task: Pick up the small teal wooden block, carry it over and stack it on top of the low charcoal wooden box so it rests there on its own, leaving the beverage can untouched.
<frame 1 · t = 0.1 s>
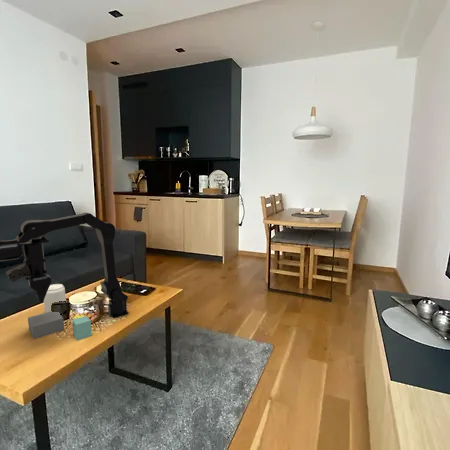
hand: (39, 298, 106), 15 cm above the table, tool pointing down, fingers open, 9 cm apart
charcoal box: (46, 330, 114), on the table
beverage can: (56, 314, 127), on the table
teal block: (82, 335, 109), on the table
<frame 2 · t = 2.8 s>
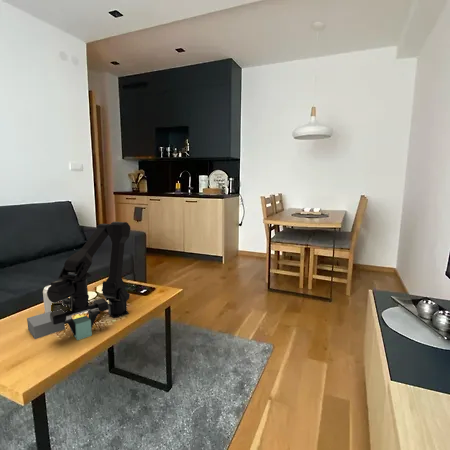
hand: (82, 332, 109), 1 cm above the table, tool pointing down, fingers closed on teal block, 5 cm apart
teal block: (82, 335, 109), on the table, touching gripper
everything else where it was.
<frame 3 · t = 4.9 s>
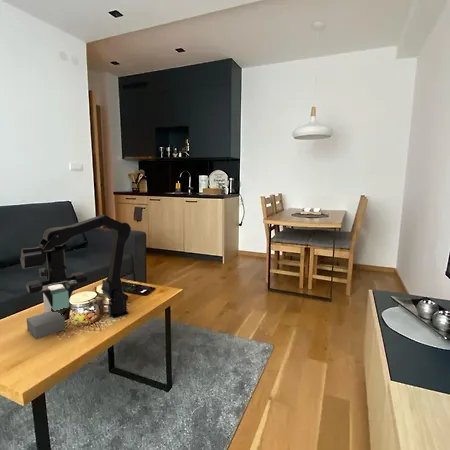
hand: (59, 304, 110), 11 cm above the table, tool pointing down, fingers closed on teal block, 5 cm apart
teal block: (60, 306, 110), point 10 cm above the table, touching gripper
everything else where it was.
when the fingers open (7 cm above the table, at t = 7.0 s): teal block drops 2 cm, resting on charcoal box.
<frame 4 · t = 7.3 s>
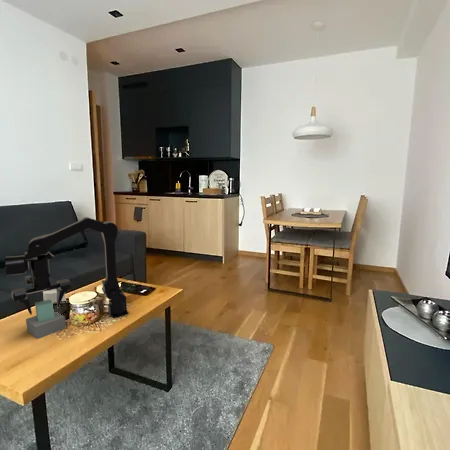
hand: (44, 310, 113), 7 cm above the table, tool pointing down, fingers open, 9 cm apart
charcoal box: (46, 330, 114), on the table, touching teal block
teal block: (45, 318, 113), point 5 cm above the table, touching charcoal box
everything else where it was.
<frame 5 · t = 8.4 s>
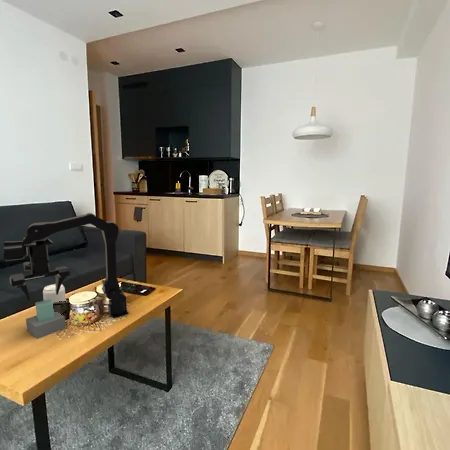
hand: (43, 297, 112), 13 cm above the table, tool pointing down, fingers open, 9 cm apart
charcoal box: (46, 330, 114), on the table
teal block: (45, 317, 113), point 5 cm above the table
everything else where it was.
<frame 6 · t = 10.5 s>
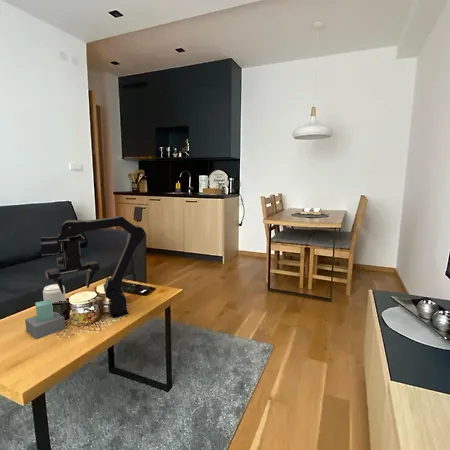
hand: (75, 290, 118), 13 cm above the table, tool pointing down, fingers open, 9 cm apart
nothing on the table moved.
at the end: teal block 0.0 cm off-centre on the charcoal box, point 5.0 cm above the charcoal box's base; teal block tilted 0°; the gripper is holding nothing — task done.
